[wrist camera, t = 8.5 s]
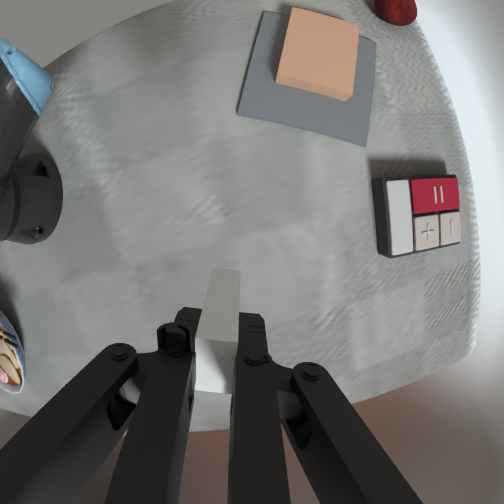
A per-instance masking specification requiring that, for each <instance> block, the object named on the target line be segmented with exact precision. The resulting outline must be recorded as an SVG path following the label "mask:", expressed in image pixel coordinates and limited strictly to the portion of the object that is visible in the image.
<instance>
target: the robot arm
mask: <svg viewBox="0 0 504 504" xmlns="http://www.w3.org/2000/svg"><path fill="white" fill-rule="evenodd" d="M53 90H54V80H53V78H52V76H51V75H50V74H48V73H47V72H46V71H45V70H44V69H42V68H41V67H40V66H39V65H38V64H36V63H35V62H34V61H33V60H31V59H30V58H29V57H28V56H26V55H25V54H24V53H22V52H21V51H20V50H19V49H17V48H16V47H15V46H13V45H12V44H11V43H10V42H9V41H7V40H6V39H5V38H3V37H1V38H0V241H3V240H8V241H13V242H17V243H22V244H34V243H38V242H41V241H43V240H45V239H46V238H48V237H49V236H50V235H51V233H52V232H53V231H54V229H55V227H56V225H57V223H58V220H59V217H60V214H61V209H62V199H63V192H62V183H61V179H60V175H59V173H58V170H57V168H56V167H55V165H54V164H53V162H52V161H51V160H49V159H48V158H46V157H44V156H40V155H27V156H24V157H21V158H18V157H19V155H20V153H21V151H22V149H23V146H24V144H25V142H26V140H27V139H28V137H29V135H30V133H31V131H32V129H33V127H34V125H35V124H36V122H37V120H38V118H39V117H41V115H42V110H43V109H44V107H45V105H46V103H47V101H48V100H49V98H50V96H51V95H52V93H53ZM239 294H240V271H237V270H227V269H217V268H213V271H212V275H211V279H210V282H209V286H208V290H207V294H206V297H205V301H204V305H203V309H197V308H189V307H184V308H182V309H181V310H180V311H178V313H177V315H176V318H175V320H174V323H167V324H164V325H162V326H160V327H159V328H158V329H157V340H158V350H157V351H155V352H151V353H137V352H136V350H135V349H134V347H132V346H131V345H129V344H125V343H115V344H111V345H109V346H108V347H106V348H105V349H104V350H103V351H101V352H100V353H99V354H98V355H97V356H96V357H95V358H94V359H93V360H92V361H91V362H90V363H89V364H87V365H86V366H85V367H84V368H83V369H82V370H81V371H80V372H79V373H78V374H77V375H76V376H75V377H74V378H73V379H71V380H70V381H69V382H68V383H67V384H66V385H65V386H64V387H63V388H62V389H61V390H60V391H59V392H58V393H57V394H56V395H55V396H54V397H53V398H52V399H51V400H50V401H49V402H48V403H47V404H45V405H44V406H43V407H42V408H41V409H40V410H39V411H38V412H37V413H36V414H35V415H34V416H33V417H32V418H31V419H30V420H29V421H28V422H27V423H26V424H25V425H24V426H23V427H22V428H21V429H20V430H19V431H18V432H17V433H16V434H15V435H14V437H12V438H11V439H10V440H9V441H8V442H7V443H6V445H5V446H4V447H3V448H2V449H1V450H0V504H74V503H75V501H76V500H77V498H78V497H79V496H80V494H81V493H82V492H83V490H84V489H85V487H86V486H87V485H88V483H89V482H90V480H91V479H92V477H93V476H94V475H95V473H96V472H97V471H98V469H99V468H100V467H101V465H102V464H103V462H104V461H105V459H106V458H107V457H108V455H109V454H110V452H111V451H112V450H113V448H114V447H115V446H116V444H117V443H118V441H119V440H120V438H121V437H122V436H123V435H124V433H125V432H126V430H127V429H128V430H127V433H126V436H125V439H124V442H123V445H122V448H121V451H120V454H119V457H118V461H117V463H116V466H115V470H114V473H113V476H112V479H111V483H110V486H109V489H108V493H107V496H106V500H105V503H104V504H178V501H179V493H180V485H181V478H182V472H183V465H184V459H185V452H186V445H187V439H188V433H189V427H190V421H191V415H192V409H193V403H194V388H195V390H200V391H209V392H218V393H229V394H232V398H231V407H230V436H229V437H230V439H229V464H228V465H229V466H228V495H227V504H291V502H290V494H289V486H288V477H287V470H286V461H285V453H284V445H283V437H282V429H281V424H282V426H283V428H284V430H285V432H286V434H287V437H288V438H289V441H290V443H291V445H292V447H293V449H294V452H295V454H296V456H297V458H298V460H299V462H300V464H301V466H302V468H303V470H304V472H305V474H306V476H307V478H308V480H309V482H310V484H311V486H312V488H313V490H314V492H315V494H316V496H317V498H318V500H319V502H320V504H423V503H422V501H421V500H420V499H419V497H418V496H417V494H416V493H415V492H414V490H412V488H411V486H410V485H409V484H408V482H407V481H406V479H405V478H404V477H403V475H402V474H401V473H400V471H399V470H398V469H397V467H396V466H395V464H394V463H393V462H392V461H391V459H390V458H389V456H388V455H387V453H386V452H385V451H384V449H383V448H382V447H381V445H380V444H379V443H378V441H377V440H376V438H375V437H374V436H373V434H372V433H371V431H370V430H369V429H368V427H367V426H366V424H365V423H364V422H363V420H362V419H361V417H360V416H359V415H358V413H357V412H356V411H355V409H354V408H353V406H352V405H351V404H350V402H349V401H348V399H347V398H346V397H345V395H344V394H343V392H342V391H341V390H340V388H339V387H338V385H337V384H336V383H335V381H334V380H333V378H332V377H331V376H330V374H329V373H328V371H327V370H326V369H325V368H324V367H323V366H321V365H319V364H316V363H312V362H303V363H299V364H297V365H296V366H295V367H294V369H291V368H287V367H284V366H281V365H278V364H277V363H275V362H274V361H273V360H272V358H271V356H270V355H269V354H268V347H267V339H266V331H265V322H264V319H263V318H262V317H261V316H260V314H254V313H243V312H239Z"/></svg>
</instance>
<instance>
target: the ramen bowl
mask: <svg viewBox="0 0 504 504" xmlns="http://www.w3.org/2000/svg"><path fill="white" fill-rule="evenodd" d="M25 375H26V365H25V354H24V351H23V349H22V346H21V343H20V340H19V337H18V335H17V333H16V332H15V330H14V328H13V326H12V324H11V323H10V322H9V320H8V319H7V318H6V316H5V315H4V314H3V313H2V312H1V311H0V387H1V388H2V389H4V390H6V391H8V392H10V393H12V394H14V393H21V390H22V387H23V385H24V381H25Z"/></svg>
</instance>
